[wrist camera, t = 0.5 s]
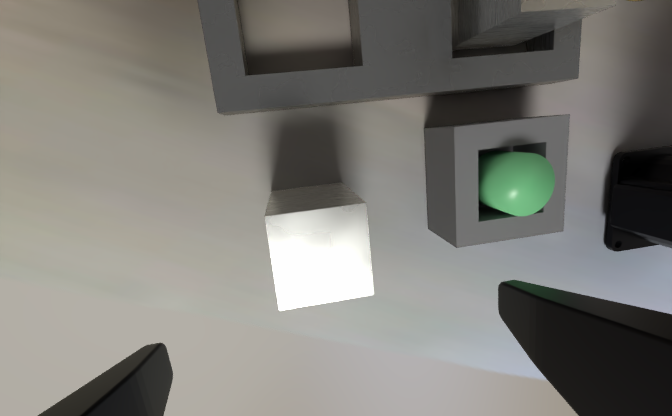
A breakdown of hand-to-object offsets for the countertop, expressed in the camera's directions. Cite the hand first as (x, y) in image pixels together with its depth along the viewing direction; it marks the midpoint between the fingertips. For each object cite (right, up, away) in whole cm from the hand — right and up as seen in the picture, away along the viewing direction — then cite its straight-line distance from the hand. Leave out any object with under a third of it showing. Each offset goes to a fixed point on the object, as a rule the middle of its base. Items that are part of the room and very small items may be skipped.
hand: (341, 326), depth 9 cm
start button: (+8, +5, +9) cm, 13 cm away
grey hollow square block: (+8, +5, +11) cm, 15 cm away
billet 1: (-2, +2, +10) cm, 11 cm away
